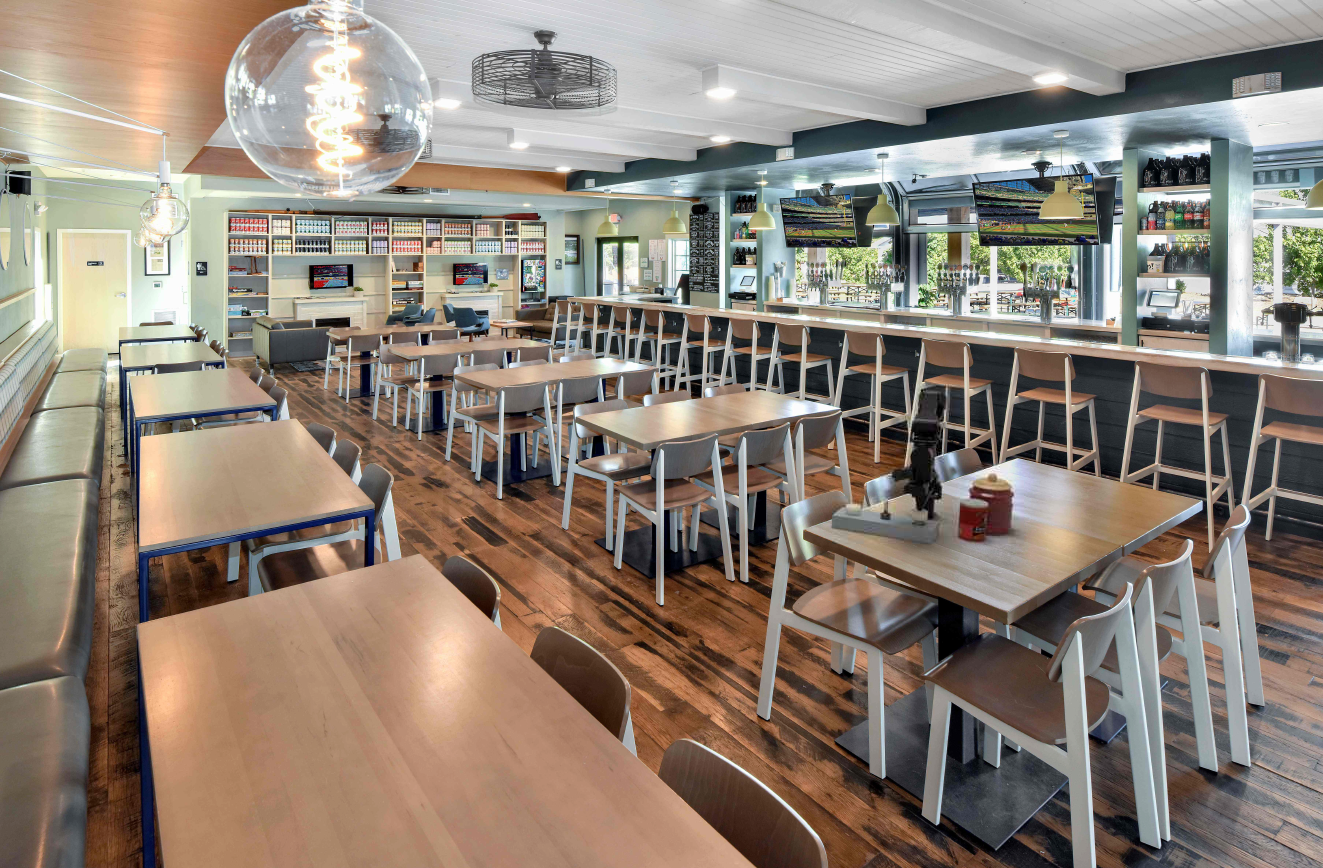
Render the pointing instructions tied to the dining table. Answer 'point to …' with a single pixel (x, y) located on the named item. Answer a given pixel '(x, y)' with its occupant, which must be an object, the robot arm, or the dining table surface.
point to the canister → (995, 502)
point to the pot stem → (885, 512)
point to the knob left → (853, 509)
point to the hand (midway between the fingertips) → (919, 510)
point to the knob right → (919, 516)
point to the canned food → (973, 519)
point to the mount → (886, 526)
